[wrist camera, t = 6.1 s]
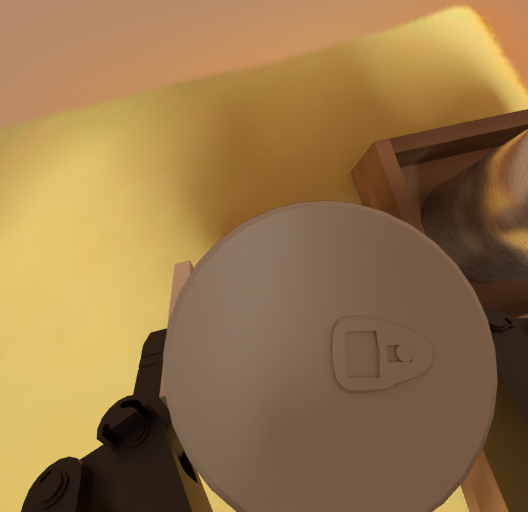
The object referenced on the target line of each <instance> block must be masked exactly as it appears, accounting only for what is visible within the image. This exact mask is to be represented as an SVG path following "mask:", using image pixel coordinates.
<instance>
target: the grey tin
mask: <svg viewBox="0 0 528 512" xmlns="http://www.w3.org/2000/svg"><path fill="white" fill-rule="evenodd" d="M421 223H422V226H423V228H424V231H425V234H426V236H427V237H428V238H430V239H431V240H433V241H434V242H435V243H436V244H437V245H438V246H439V247H440V248H441V249H442V250H443V251H444V252H445V253H446V254H447V255H448V256H449V257H450V258H451V259H452V260H453V261H454V262H455V263H456V264H457V266H458V267H459V269H460V270H461V272H462V273H463V274H464V276H465V277H466V279H467V280H468V281H472V282H478V283H487V282H499V281H510V280H522V279H528V129H527V130H526V131H524V132H522V133H521V134H519V135H518V136H516V137H514V138H513V139H511V140H510V141H508V142H506V143H505V144H503V145H502V146H500V147H498V148H497V149H495V150H494V151H492V152H490V153H489V154H487V155H486V156H484V157H482V158H481V159H479V160H478V161H476V162H474V163H473V164H471V165H470V166H468V167H466V168H465V169H463V170H462V171H460V172H458V173H457V174H455V175H454V176H452V177H450V178H449V179H447V180H446V181H444V182H442V183H441V184H439V185H438V186H437V187H435V188H434V189H433V190H432V191H431V192H430V194H429V195H428V196H427V198H426V200H425V202H424V205H423V208H422V212H421Z"/></svg>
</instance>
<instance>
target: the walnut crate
mask: <svg viewBox="0 0 528 512" xmlns="http://www.w3.org/2000/svg"><path fill="white" fill-rule="evenodd" d="M527 129H528V109H527V110H522V111H517V112H513V113H508V114H503V115H499V116H494V117H489V118H484V119H480V120H475V121H470V122H466V123H461V124H456V125H452V126H447V127H442V128H438V129H433V130H428V131H424V132H419V133H414V134H410V135H405V136H400V137H396V138H391V139H386V140H382V141H377V142H374V143H373V144H372V145H371V147H370V148H369V149H368V151H367V152H366V153H365V155H364V156H363V157H362V158H361V160H360V161H359V162H358V164H357V165H356V166H355V167H354V169H353V170H352V171H351V172H352V174H353V177H354V180H355V183H356V186H357V189H358V192H359V195H360V197H361V200H362V203H363V206H366V207H369V208H373V209H376V210H380V211H383V212H386V213H388V214H390V215H392V216H394V217H396V218H398V219H400V220H402V221H404V222H406V223H408V224H410V225H412V226H413V227H415V228H416V229H417V230H419V231H420V232H421V233H423V234H424V235H426V234H425V231H424V228H423V226H422V223H421V212H422V208H423V205H424V202H425V200H426V198H427V196H428V195H429V194H430V192H431V191H432V190H433V189H434V188H435V187H437V186H438V185H439V184H441V183H442V182H444V181H446V180H447V179H449V178H450V177H452V176H454V175H455V174H457V173H458V172H460V171H462V170H463V169H465V168H466V167H468V166H470V165H471V164H473V163H474V162H476V161H478V160H479V159H481V158H482V157H484V156H486V155H487V154H489V153H490V152H492V151H494V150H495V149H497V148H498V147H500V146H502V145H503V144H505V143H506V142H508V141H510V140H511V139H513V138H514V137H516V136H518V135H519V134H521V133H522V132H524V131H526V130H527ZM468 282H469V283H470V285H471V286H472V287H473V289H474V291H475V293H476V295H477V297H478V300H479V302H480V304H481V306H482V308H488V309H493V310H496V311H499V312H502V313H504V314H505V315H507V316H509V317H510V318H528V279H522V280H510V281H499V282H487V283H478V282H472V281H468ZM460 485H461V487H462V490H463V493H464V496H465V499H466V502H467V505H468V507H469V510H470V512H509V511H508V509H507V507H506V504H505V502H504V499H503V497H502V494H501V492H500V490H499V487H498V485H497V482H496V480H495V478H494V475H493V473H492V470H491V468H490V465H489V463H488V461H487V458H486V456H485V453H484V451H483V449H482V451H481V453H480V455H479V456H478V458H477V460H476V462H475V463H474V465H473V467H472V469H471V471H470V472H469V474H468V476H467V477H466V479H465V480H464V481H463V482H462V483H461V484H460Z"/></svg>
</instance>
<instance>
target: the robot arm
mask: <svg viewBox="0 0 528 512" xmlns="http://www.w3.org/2000/svg"><path fill="white" fill-rule="evenodd" d="M192 271H193V266H192V264H191V261H186V262H182V263H178V264H175V268H174V276H173V285H172V293H171V302H170V310H169V319H170V317H171V314H172V311H173V309H174V306H175V303H176V301H177V298H178V295H179V293H180V290H181V289H182V287H183V285H184V284H185V282H186V281H187V279H188V277H189V276H190V274H191V272H192ZM483 310H484V313H485V315H486V317H487V320H488V324H489V327H490V331H491V335H492V339H493V343H494V347H495V353H496V367H497V380H498V383H497V392H496V401H495V409H494V416H493V419H492V422H491V426H490V429H489V432H488V435H487V438H486V441H485V444H484V447H483V451H484V453H485V456H486V458H487V461H488V463H489V465H490V468H491V470H492V473H493V475H494V478H495V480H496V482H497V485H498V487H499V490H500V492H501V494H502V497H503V499H504V502H505V504H506V507H507V509H508V511H509V512H528V318H510V317H509V316H507V315H505V314H504V313H502V312H499V311H496V310H493V309H488V308H483ZM169 319H168V322H169ZM167 328H168V327H167ZM166 334H167V329H163V330H159V331H155V332H152V333H150V335H149V336H148V338H147V340H146V341H145V343H144V345H143V349H142V354H141V360H140V364H139V370H138V373H137V378H136V383H135V388H134V393H133V395H131V396H127V397H125V398H123V399H121V400H119V401H117V402H116V403H115V404H114V405H113V406H112V407H110V408H109V410H108V411H107V412H106V414H105V415H104V416H103V418H102V420H101V422H100V424H99V426H98V429H97V440H99V441H100V442H102V443H103V445H102V446H100V447H99V448H97V449H96V450H94V451H93V452H91V453H90V454H88V455H86V456H85V457H83V458H82V459H80V460H79V459H77V458H73V457H66V458H62V459H59V460H58V461H56V462H55V463H53V464H52V465H50V466H49V467H48V468H47V469H46V470H45V471H44V472H43V473H42V474H41V475H40V476H39V477H38V478H37V479H36V481H35V482H34V484H33V485H32V486H31V488H30V489H29V491H28V494H27V496H26V498H25V501H24V503H23V506H22V510H21V512H213V510H212V508H211V505H210V503H209V500H208V498H207V495H206V493H205V490H204V488H203V485H202V483H201V480H200V478H199V475H198V473H197V470H196V469H195V468H194V466H193V465H192V464H191V462H190V461H189V459H188V457H187V455H186V453H185V451H184V449H183V447H182V445H181V442H180V440H179V438H178V436H177V434H176V432H175V430H174V428H173V425H172V421H171V416H170V412H169V408H168V404H167V400H166V396H165V392H164V369H163V353H164V347H165V340H166Z"/></svg>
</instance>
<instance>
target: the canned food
mask: <svg viewBox="0 0 528 512" xmlns="http://www.w3.org/2000/svg"><path fill="white" fill-rule="evenodd" d="M163 369H164V392H165V396H166V400H167V404H168V408H169V412H170V416H171V421H172V425H173V428H174V430H175V432H176V434H177V436H178V438H179V440H180V442H181V445H182V447H183V449H184V451H185V453H186V455H187V457H188V459H189V461H190V462H191V464H192V465H193V466H194V468H195V469H196V470H197V471H198V473H199V474H200V475H201V477H202V478H203V479H204V481H205V482H206V483H207V485H208V486H209V487H210V489H211V490H212V491H213V492H214V493H216V494H217V495H218V496H219V497H220V498H221V499H223V500H224V501H225V502H226V503H227V504H228V505H230V506H231V507H232V508H233V509H234V510H235V511H236V512H432V511H434V510H435V509H437V508H438V507H439V506H441V505H442V504H443V503H444V502H445V501H446V500H447V499H448V498H449V497H450V496H451V494H452V493H453V492H454V491H455V490H456V489H457V488H458V487H459V485H460V484H461V483H462V482H463V481H464V480H465V479H466V477H467V476H468V474H469V472H470V471H471V469H472V467H473V465H474V463H475V462H476V460H477V458H478V456H479V455H480V453H481V451H482V449H483V447H484V444H485V441H486V438H487V435H488V432H489V429H490V426H491V422H492V419H493V416H494V409H495V401H496V392H497V383H498V380H497V367H496V353H495V347H494V343H493V339H492V335H491V331H490V327H489V324H488V320H487V317H486V315H485V313H484V310H483V308H482V306H481V304H480V302H479V300H478V297H477V295H476V293H475V291H474V289H473V287H472V286H471V285H470V283H469V282H468V280H467V279H466V277H465V276H464V274H463V273H462V272H461V270H460V269H459V267H458V266H457V264H456V263H455V262H454V261H453V260H452V259H451V258H450V257H449V256H448V255H447V254H446V253H445V252H444V251H443V250H442V249H441V248H440V247H439V246H438V245H437V244H436V243H435V242H434V241H433V240H431V239H430V238H428V237H427V236H426V235H424V234H423V233H421V232H420V231H419V230H417V229H416V228H415V227H413V226H412V225H410V224H408V223H406V222H404V221H402V220H400V219H398V218H396V217H394V216H392V215H390V214H388V213H386V212H383V211H380V210H376V209H373V208H369V207H366V206H362V205H359V204H355V203H345V202H336V201H315V202H301V203H295V204H291V205H287V206H284V207H280V208H276V209H272V210H269V211H267V212H265V213H262V214H260V215H258V216H256V217H254V218H252V219H250V220H248V221H246V222H244V223H242V224H240V225H239V226H238V227H236V228H235V229H234V230H232V231H231V232H230V233H228V234H227V235H225V236H224V237H223V238H221V239H220V240H219V241H217V243H216V244H215V245H214V246H213V247H212V248H211V249H210V250H209V251H208V252H207V253H206V254H205V256H204V257H203V258H202V259H201V260H200V261H199V262H198V263H197V264H196V266H195V268H194V269H193V271H192V272H191V274H190V276H189V277H188V279H187V281H186V282H185V284H184V285H183V287H182V289H181V290H180V293H179V295H178V298H177V301H176V303H175V306H174V309H173V311H172V314H171V317H170V319H169V322H168V328H167V334H166V340H165V347H164V353H163Z"/></svg>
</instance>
